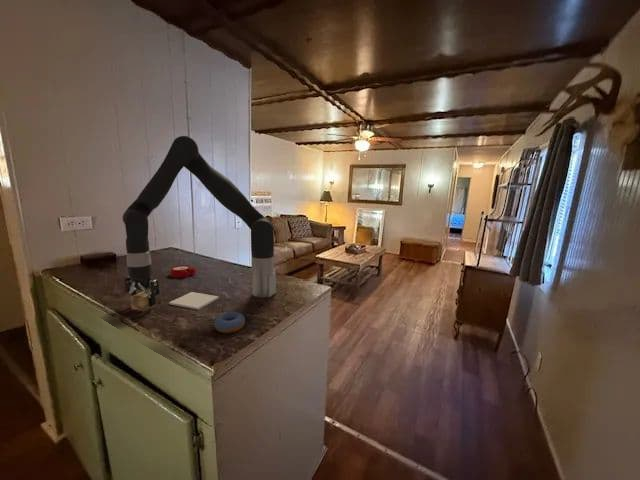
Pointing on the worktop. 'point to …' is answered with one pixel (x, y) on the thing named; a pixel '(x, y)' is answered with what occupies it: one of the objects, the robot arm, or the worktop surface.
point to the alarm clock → (182, 271)
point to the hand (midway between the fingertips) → (143, 304)
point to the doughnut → (229, 322)
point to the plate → (194, 300)
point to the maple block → (140, 301)
